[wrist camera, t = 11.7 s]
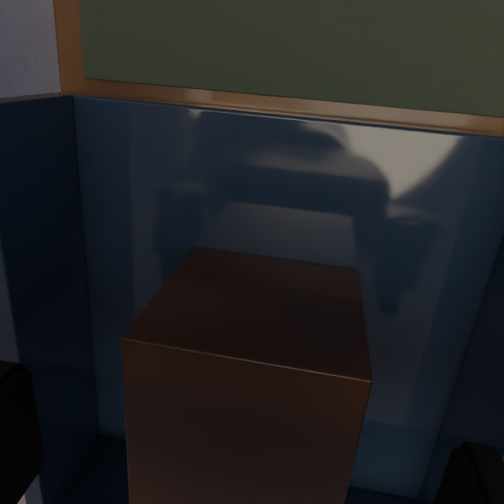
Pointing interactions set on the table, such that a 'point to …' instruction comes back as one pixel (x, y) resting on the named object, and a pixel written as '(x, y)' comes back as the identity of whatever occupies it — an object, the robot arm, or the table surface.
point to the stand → (75, 82)
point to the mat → (306, 49)
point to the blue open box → (252, 243)
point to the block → (246, 383)
